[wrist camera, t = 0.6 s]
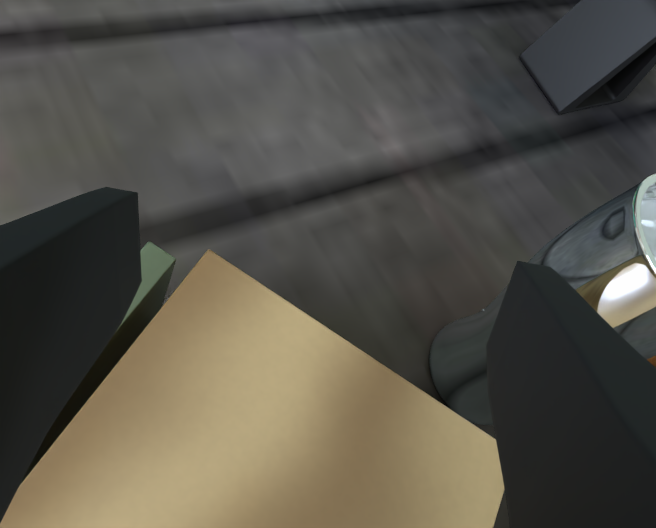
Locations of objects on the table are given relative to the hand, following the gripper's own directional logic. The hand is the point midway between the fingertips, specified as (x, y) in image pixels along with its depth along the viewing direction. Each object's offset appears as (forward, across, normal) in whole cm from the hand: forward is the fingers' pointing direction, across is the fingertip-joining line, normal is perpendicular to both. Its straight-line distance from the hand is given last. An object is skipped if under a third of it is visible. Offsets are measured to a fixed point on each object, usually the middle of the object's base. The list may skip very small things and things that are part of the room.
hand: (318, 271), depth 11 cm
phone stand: (+44, -16, +6) cm, 47 cm away
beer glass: (+17, -9, +16) cm, 25 cm away
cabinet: (+5, +3, +18) cm, 19 cm away
